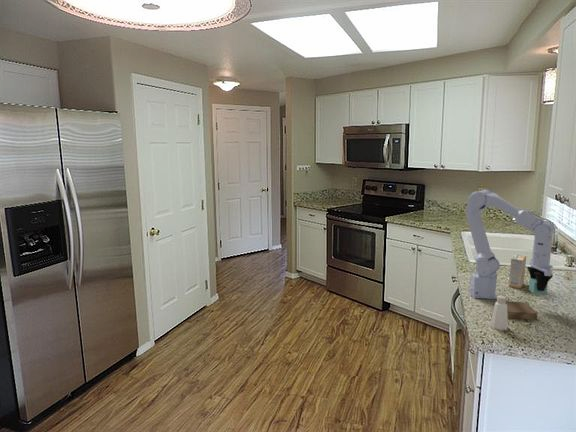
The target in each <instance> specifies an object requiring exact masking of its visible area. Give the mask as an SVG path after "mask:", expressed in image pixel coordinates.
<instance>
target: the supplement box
mask: <svg viewBox="0 0 576 432" xmlns="http://www.w3.org/2000/svg"><path fill="white" fill-rule="evenodd" d="M526 261H527V256H526V255H522V254H514V255H513V256H512V257H511V258H510V266H509V279H508V280H509V282H508V287H509V288H515V289H521V288H522V287H523V285H524V283H525V273H526V265H527V264H526V263H527V262H526Z"/></svg>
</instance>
